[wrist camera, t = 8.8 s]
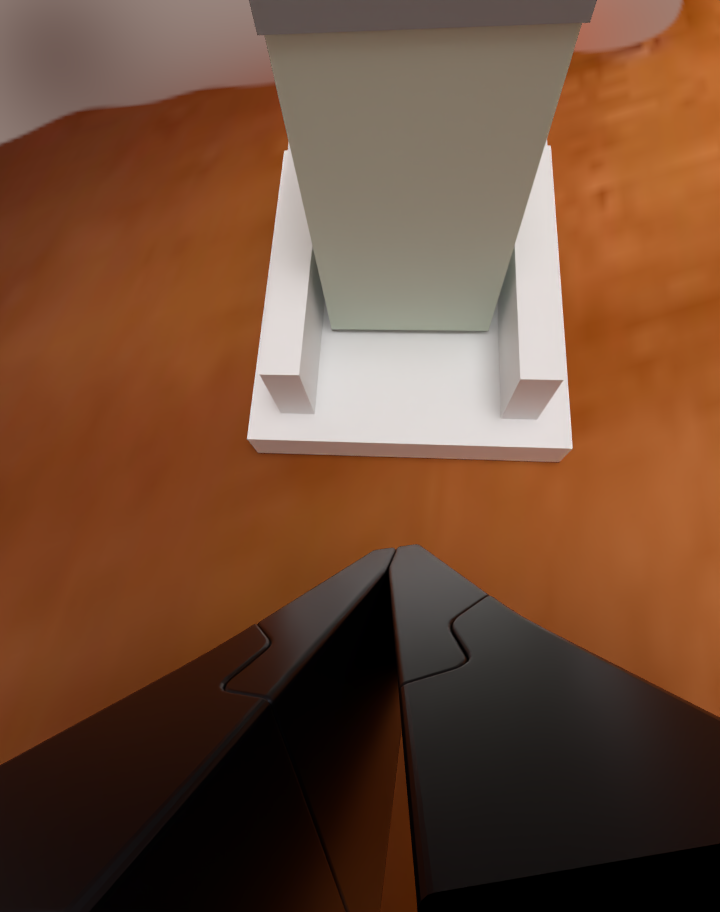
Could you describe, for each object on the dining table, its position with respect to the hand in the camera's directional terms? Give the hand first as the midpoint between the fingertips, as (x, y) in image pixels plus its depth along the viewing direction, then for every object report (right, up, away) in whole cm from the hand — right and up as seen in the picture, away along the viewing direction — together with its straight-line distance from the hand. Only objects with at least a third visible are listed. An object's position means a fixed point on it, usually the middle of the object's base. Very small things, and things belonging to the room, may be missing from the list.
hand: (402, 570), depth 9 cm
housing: (+1, +8, +12) cm, 14 cm away
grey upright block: (+1, +9, +10) cm, 13 cm away
